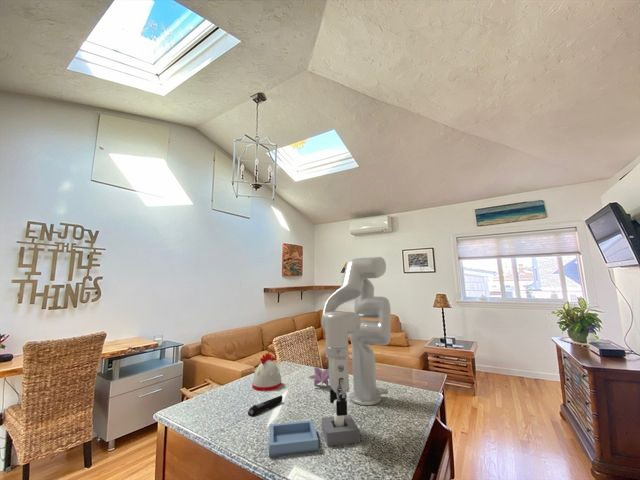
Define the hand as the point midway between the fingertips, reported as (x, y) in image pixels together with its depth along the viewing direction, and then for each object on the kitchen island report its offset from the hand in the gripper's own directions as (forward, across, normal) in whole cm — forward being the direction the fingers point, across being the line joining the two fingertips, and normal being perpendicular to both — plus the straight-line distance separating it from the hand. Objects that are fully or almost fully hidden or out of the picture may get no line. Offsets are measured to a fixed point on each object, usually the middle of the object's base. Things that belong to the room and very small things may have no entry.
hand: (338, 408), depth 87 cm
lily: (+7, +43, -2) cm, 44 cm away
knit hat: (+8, +52, +24) cm, 57 cm away
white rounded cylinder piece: (+8, +1, 0) cm, 8 cm away
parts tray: (+8, 0, +14) cm, 17 cm away
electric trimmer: (+8, +26, +23) cm, 36 cm away
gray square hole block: (+8, +1, 0) cm, 8 cm away
